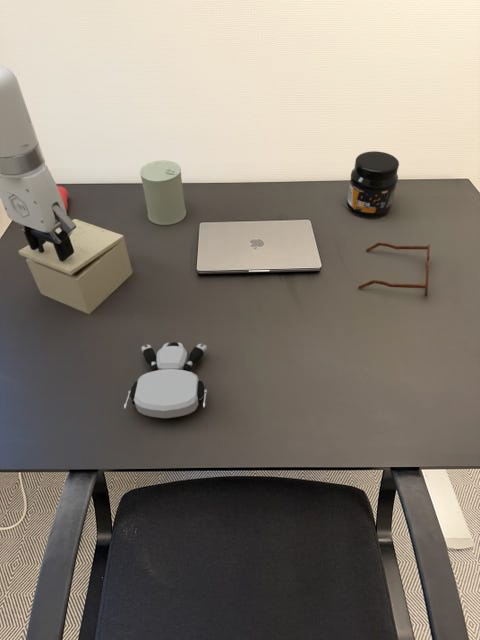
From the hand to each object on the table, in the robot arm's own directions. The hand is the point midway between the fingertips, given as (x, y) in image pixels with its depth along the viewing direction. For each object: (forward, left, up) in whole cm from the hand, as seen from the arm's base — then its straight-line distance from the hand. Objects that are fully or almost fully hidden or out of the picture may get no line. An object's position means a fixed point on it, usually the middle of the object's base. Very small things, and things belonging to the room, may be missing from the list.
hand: (52, 250), depth 84 cm
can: (+9, +32, -12) cm, 35 cm away
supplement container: (+56, +44, -12) cm, 72 cm away
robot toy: (+26, -16, -12) cm, 33 cm away
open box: (+1, +5, -12) cm, 13 cm away
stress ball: (-18, +30, -12) cm, 37 cm away
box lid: (+1, +4, -2) cm, 5 cm away
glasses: (+62, +20, -12) cm, 67 cm away
